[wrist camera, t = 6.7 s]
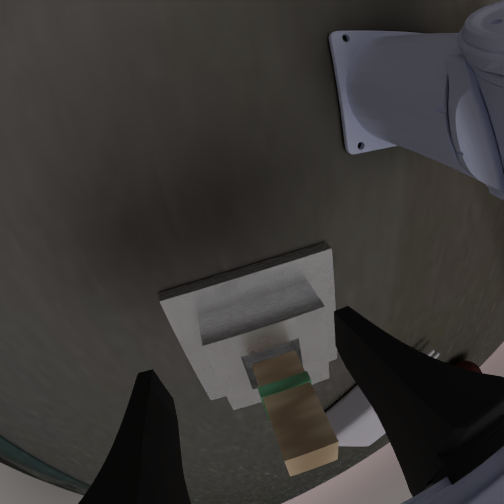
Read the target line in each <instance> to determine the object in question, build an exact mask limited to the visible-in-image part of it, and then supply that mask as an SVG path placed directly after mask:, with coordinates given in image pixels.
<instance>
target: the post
mask: <svg viewBox="0 0 504 504" xmlns="http://www.w3.org/2000/svg"><path fill="white" fill-rule="evenodd" d="M252 368H253V371H254V374H255V377H256V380H257V383H258V386H259V387H258V391H259V394H260V397H261V400H262V403H263V406H264V408H265V411H266V414H267V417H268V419H269V421H271V424H272V427H273V430H274V433H275V435H276V438H277V441H278V444H279V447H280V450H281V452H282V455H283V458H284V461H285V463H286V466H287V469H288V471H289V474H290V476H293V475H296V474H299V473H302V472H305V471H308V470H311V469H314V468H316V467H319V466H322V465H324V464H327V463H330V462H332V461H335V460H337V459H338V443H339V441H338V439H337V437H336V435H335V433H334V431H333V429H332V427H331V425H330V423H329V420H328V418H327V416H326V414H325V412H324V410H323V408H322V406H321V404H320V402H319V400H318V397H317V395H316V393H315V391H314V389H313V387H312V381H311V378H310V376H309V374H308V372H307V371H305V370H304V368H303V366H302V364H301V362H300V360H299V358H298V356H297V354H296V351H292V352H289V353H286V354H283V355H280V356H277V357H274V358H271V359H268V360H265V361H262V362H259V363H256V364H252Z"/></svg>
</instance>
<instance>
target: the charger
mask: <svg viewBox="0 0 504 504" xmlns="http://www.w3.org/2000/svg"><path fill="white" fill-rule="evenodd" d="M434 352H435V351H434V350H433V349H432V350H431V351H430V352H429V353H428V354H427V355H428V356H431V355H432V354H433V353H434ZM438 356H439V353H438V352H437V353H436V354H435V355H434V356H433V358H435V359H436V358H437V357H438ZM325 414H326V416H327V418H328V420H329V423H330V425H331V427H332V429H333V431H334V433H335V435H336V437H337V439H338V441H339V443H338V446H369V445H371V444H372V443H373V442H375V441H376V440H377V439H379V438H380V437H381V436H382V435H384V434H385V433H386V432H385V430H384V428H383V426H382V424H381V422H380V420H379V418H378V416H377V414H376V413H375V411H374V409H373V407H372V406H371V404H370V403H369V401H368V400H367V398H366V397H365V395H364V394H363V392H362V391H361V389H360V388H359V386H358V385H356V386H355V387H354V388H353V389H352V390H351V391H350V392H349V393H347V394H346V395H345V396H344V397H343V398H342V399H341V400H339V401H338V402H337V403H336V404H335V405H334V406H332V407H331V408H330V409H329V410H328V411H326V412H325Z"/></svg>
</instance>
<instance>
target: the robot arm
mask: <svg viewBox="0 0 504 504" xmlns="http://www.w3.org/2000/svg"><path fill="white" fill-rule="evenodd" d="M343 35H344V36H346V38H347V41H346V42H344V41H343V39H342V36H343ZM329 43H330V48H331V54H332V59H333V65H334V71H335V77H336V83H337V90H338V96H339V103H340V110H341V118H342V125H343V134H344V142H345V149H346V151H347V152H348V153H350V154H359V153H364V152H369V151H374V150H379V149H384V148H389V147H394V146H400V147H403V148H406V149H408V150H411V151H413V152H416V153H418V154H421V155H423V156H426V157H428V158H430V159H433V160H435V161H437V162H440V163H442V164H444V165H447V166H449V167H451V168H453V169H455V170H458V171H460V172H462V173H464V174H466V175H468V176H470V177H473V178H475V179H477V180H479V181H481V182H483V183H485V184H486V185H487V187H488V189H489V192H490V193H491V194H493V195H494V196H496V197H498V198H500V199H502V200H504V1H500V2H496V3H493V4H490V5H487V6H485V7H483V8H480V9H479V10H477V11H475V12H474V13H472V14H471V15H470V16H469V17H468V18H467V19H466V21H465V23H464V26H463V28H462V29H461V30H460V32H459V33H427V34H425V33H414V32H399V31H335V32H332V33H330V35H329ZM359 142H361V147H360V148H358V143H359ZM334 326H335V346H336V348H337V350H338V352H339V354H340V356H341V358H342V360H343V362H344V364H345V366H346V368H347V369H348V371H349V372H350V374H351V376H352V377H353V379H354V380H355V382H356V383H357V385H358V386H359V388H360V389H361V391H362V392H363V394H364V395H365V397H366V398H367V400H368V401H369V403H370V404H371V406H372V407H373V409H374V411H375V413H376V414H377V416H378V418H379V420H380V422H381V424H382V426H383V428H384V430H385V432H386V434H387V436H388V439H389V441H390V443H391V445H392V447H393V449H394V452H395V454H396V457H397V459H398V461H399V464H400V466H401V468H402V471H403V474H404V476H405V479H406V482H407V484H408V487H409V490H410V492H411V494H412V496H413V497H412V498H410V499H409V500H407V501H405V502H403V503H401V504H504V377H500V376H494V375H488V374H483V373H478V372H474V371H470V370H466V369H463V368H460V367H457V366H454V365H451V364H448V363H445V362H442V361H440V360H437V359H435V358H433V357H430V356H428V355H426V354H424V353H422V352H420V351H418V350H416V349H414V348H412V347H410V346H408V345H406V344H405V343H403V342H401V341H399V340H398V339H396V338H394V337H393V336H391V335H390V334H388V333H386V332H385V331H383V330H382V329H380V328H379V327H377V326H376V325H374V324H373V323H371V322H370V321H368V320H367V319H366V318H364V317H363V316H361V315H360V314H359V313H357V312H356V311H355V310H353V309H352V308H350V307H349V306H347V307H344V308H342V309H339V310H336V311H334ZM78 504H191V502H190V499H189V495H188V491H187V487H186V483H185V479H184V474H183V468H182V459H181V449H180V439H179V428H178V420H177V415H176V410H175V405H174V401H173V398H172V396H171V395H170V393H169V392H168V391H167V389H166V388H165V386H164V385H163V384H162V382H161V381H160V379H159V378H158V376H157V375H156V373H155V372H154V370H149V371H145V372H141V373H138V375H137V378H136V381H135V384H134V388H133V391H132V394H131V397H130V400H129V403H128V406H127V409H126V412H125V415H124V418H123V421H122V423H121V426H120V428H119V431H118V433H117V436H116V438H115V441H114V443H113V446H112V448H111V450H110V452H109V454H108V456H107V458H106V460H105V462H104V464H103V466H102V468H101V470H100V471H99V473H98V475H97V477H96V478H95V480H94V482H93V483H92V485H91V486H90V488H89V489H88V491H87V492H86V494H85V495H84V496H83V498H82V499H81V501H80V502H79V503H78Z"/></svg>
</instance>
